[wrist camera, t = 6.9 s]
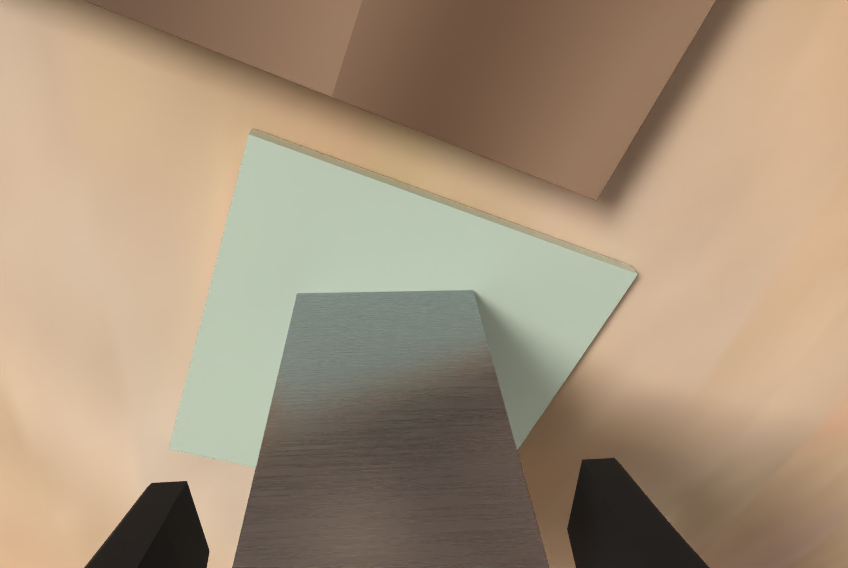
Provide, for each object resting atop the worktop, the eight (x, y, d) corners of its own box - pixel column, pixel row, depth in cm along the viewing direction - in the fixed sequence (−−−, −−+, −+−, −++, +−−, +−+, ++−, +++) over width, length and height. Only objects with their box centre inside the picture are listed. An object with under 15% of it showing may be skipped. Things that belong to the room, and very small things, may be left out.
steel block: (473, 290, 13) (554, 589, 7) (463, 417, 15) (519, 732, 9) (296, 293, 13) (222, 608, 7) (311, 422, 15) (265, 751, 9)
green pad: (631, 265, 13) (638, 274, 13) (472, 502, 17) (474, 513, 17) (252, 128, 11) (248, 134, 11) (173, 437, 15) (168, 449, 15)
